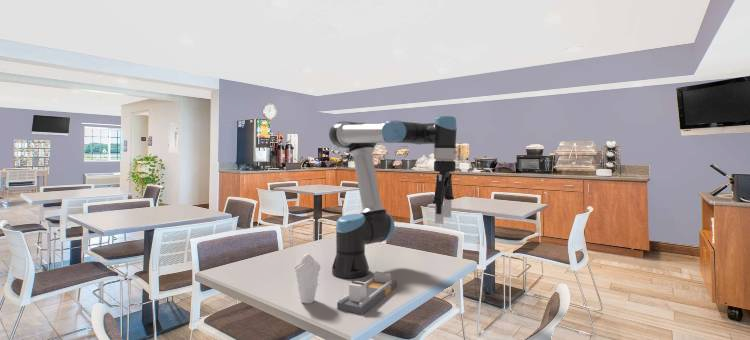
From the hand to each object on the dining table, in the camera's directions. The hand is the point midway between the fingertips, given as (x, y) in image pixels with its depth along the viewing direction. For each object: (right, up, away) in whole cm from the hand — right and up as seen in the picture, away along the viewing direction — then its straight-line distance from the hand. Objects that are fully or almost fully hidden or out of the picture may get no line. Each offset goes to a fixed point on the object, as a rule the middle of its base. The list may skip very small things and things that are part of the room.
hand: (443, 220), depth 129 cm
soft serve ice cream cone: (-46, -25, -10) cm, 54 cm away
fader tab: (-30, -23, -14) cm, 40 cm away
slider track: (-26, -25, -6) cm, 37 cm away
